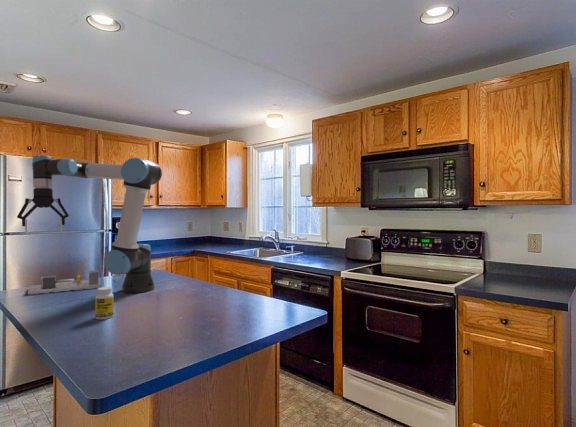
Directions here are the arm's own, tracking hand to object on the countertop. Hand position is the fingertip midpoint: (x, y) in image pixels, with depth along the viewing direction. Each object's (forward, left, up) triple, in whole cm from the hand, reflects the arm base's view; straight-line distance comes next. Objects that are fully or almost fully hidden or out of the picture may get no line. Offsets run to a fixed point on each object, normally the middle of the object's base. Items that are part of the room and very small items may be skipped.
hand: (44, 232), depth 168 cm
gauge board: (-9, -6, -29) cm, 31 cm away
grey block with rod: (-5, -7, -27) cm, 28 cm away
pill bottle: (-21, +56, -29) cm, 66 cm away
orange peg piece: (-14, -11, -27) cm, 32 cm away
